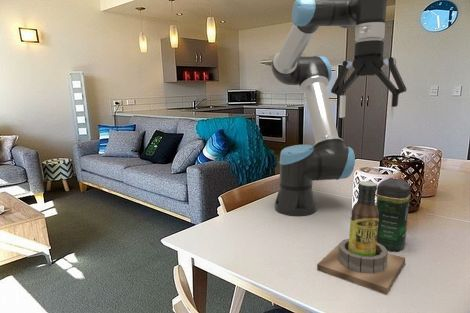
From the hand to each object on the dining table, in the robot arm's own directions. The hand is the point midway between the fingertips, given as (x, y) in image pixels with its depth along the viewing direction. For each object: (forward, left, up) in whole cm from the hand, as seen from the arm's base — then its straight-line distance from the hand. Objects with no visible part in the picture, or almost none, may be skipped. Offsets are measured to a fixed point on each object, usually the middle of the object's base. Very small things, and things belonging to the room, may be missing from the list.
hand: (364, 118), depth 94 cm
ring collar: (+8, -21, -35) cm, 41 cm away
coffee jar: (+10, -4, -35) cm, 37 cm away
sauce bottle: (+8, -21, -33) cm, 40 cm away
